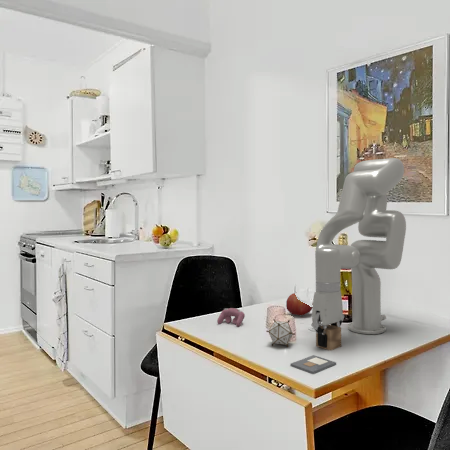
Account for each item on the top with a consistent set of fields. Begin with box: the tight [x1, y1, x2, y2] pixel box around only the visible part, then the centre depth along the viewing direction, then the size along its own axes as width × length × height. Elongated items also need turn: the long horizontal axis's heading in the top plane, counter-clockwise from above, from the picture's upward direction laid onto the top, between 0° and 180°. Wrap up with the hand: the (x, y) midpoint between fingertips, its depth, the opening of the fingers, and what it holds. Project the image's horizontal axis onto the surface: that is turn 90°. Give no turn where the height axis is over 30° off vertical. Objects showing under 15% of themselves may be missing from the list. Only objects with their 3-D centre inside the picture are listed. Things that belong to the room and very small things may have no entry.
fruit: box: [285, 292, 312, 316], centre depth 174 cm, size 11×10×10 cm
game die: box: [266, 318, 296, 348], centre depth 138 cm, size 9×8×10 cm
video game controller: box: [216, 307, 246, 328], centre depth 164 cm, size 10×5×7 cm, turn 58°
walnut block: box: [315, 324, 342, 351], centre depth 136 cm, size 6×6×6 cm
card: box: [289, 354, 337, 375], centre depth 121 cm, size 10×8×1 cm
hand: (328, 343), depth 136 cm, fingers closed on walnut block, 5 cm apart
